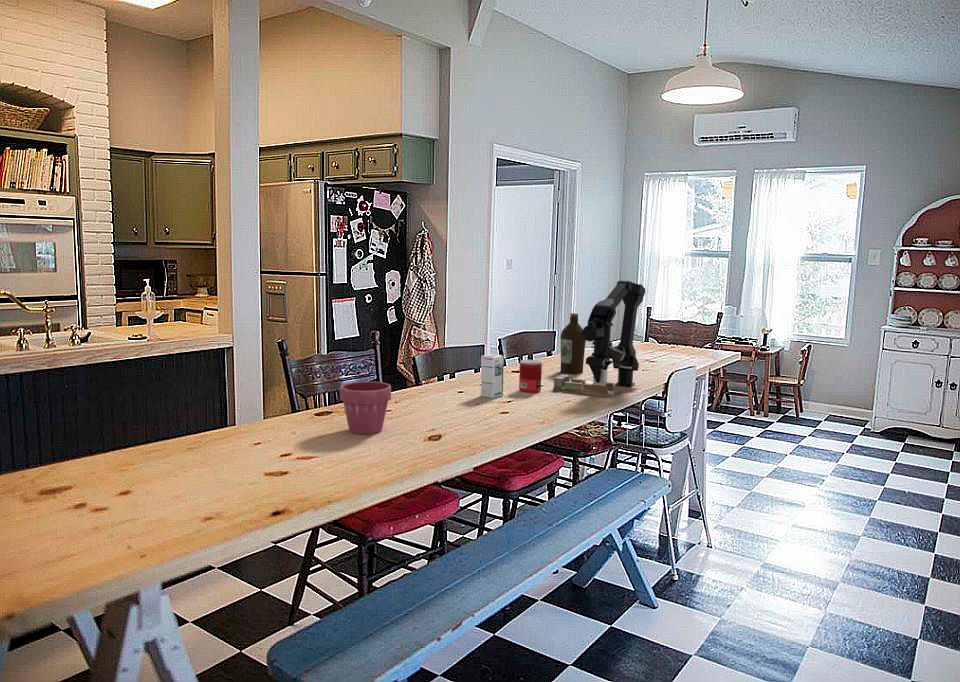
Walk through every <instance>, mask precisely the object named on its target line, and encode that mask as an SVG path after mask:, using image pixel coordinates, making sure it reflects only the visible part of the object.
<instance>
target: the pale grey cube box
mask: <svg viewBox="0 0 960 682" xmlns="http://www.w3.org/2000/svg"><path fill="white" fill-rule="evenodd" d="M592 375H593V374H592ZM592 377H593V378H592V381H582V382H581V383H583V384H592V385H601V386H606V383H607V382H608V369H607V370H604V369H602V373H601V378H600V382H599V383H597V382H596V380H595V378H594V375H593V376H592Z"/></svg>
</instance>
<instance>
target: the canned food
mask: <svg viewBox="0 0 960 682" xmlns="http://www.w3.org/2000/svg"><path fill="white" fill-rule="evenodd" d="M542 369H543V362H542V361H541V360H538V359H521V360H520V361H519V380H518V382H519V383H518V389H519V391H520V392H521V393H526V392H527V394H528V393H529V394H536V392H537V393H540V392H541V390H542V375H543V373H542V371H543V370H542Z"/></svg>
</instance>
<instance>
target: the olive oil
mask: <svg viewBox="0 0 960 682" xmlns="http://www.w3.org/2000/svg"><path fill="white" fill-rule="evenodd" d="M583 329H584V327H582V326H581V325H580V324H579V314H578V313H575V312H574V313H573V312H572V313H570V317H569V323H568V324H567V325H566V326H565V327H564V328H563V329H562V331H561V333H560V337H559V338H560V373H562V372H563V373H562V374H566V373H568V374H567V375H581V374H583V372H584V361H585V352H586V351H585V350H586V340H585V339H584V338H583V336H582V331H583ZM580 373H581V374H580Z"/></svg>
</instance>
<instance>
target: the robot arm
mask: <svg viewBox="0 0 960 682" xmlns="http://www.w3.org/2000/svg"><path fill="white" fill-rule="evenodd" d="M645 295H646V288H645V286H644V285H643V284H641V283H636V282H633V281H630V280H622V279H621V280H618V281H617V282H616V285H615V287H614V288H613V289H612V290H611V292H610V293H609V294H608V295H607V297H606V298H605V299H603V300H600V301H598V302H596V304H595V305H594V306H593V308H592V309H591V312H590V314H589V317H588V320H587V325H586V326H584V327H583V331H582V336H583V338H584V339H585V340H586V341H587V342H592V343H591V344H592V345H593V352H591V355H589V356H587V357H586V358H585V365H588V366H589V368H590V370H591V373H592V375H594V378H595V380H596V382H597V383H599V382H600V378H601V373H602V369H604V370H607V371H608V368H609V366H610V365H611V364H612V366H613V369H617V382H614V386H623V387H633V386H635V385H636V382H633V379H634V371H635V372H638V371H639V367H640V363H639V361H638V359H637V355H636V353H637V351H636V349H635V347H634V345H633V343H634V338H635V337H634V336H635V331H636V330H635V329H636V320H637V315H638V308H639V306H640V305H641V304H642V303H643V301H644V297H645ZM621 302H623V304H624V311H623V318H622V323H621V324H622V326H621V334H620V339H619V343H618V344H617V345H615V346H613V342H612V341H611V331H612V327H613V325H614V323H613V319H614V318H615V316H616V314H617V310H616V309H617V307H618V306H619V305H620V304H621Z"/></svg>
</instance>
